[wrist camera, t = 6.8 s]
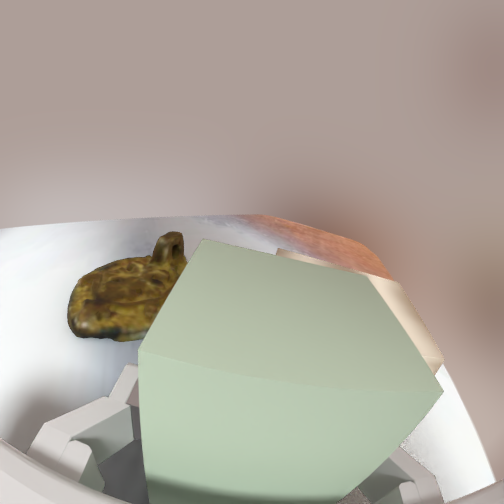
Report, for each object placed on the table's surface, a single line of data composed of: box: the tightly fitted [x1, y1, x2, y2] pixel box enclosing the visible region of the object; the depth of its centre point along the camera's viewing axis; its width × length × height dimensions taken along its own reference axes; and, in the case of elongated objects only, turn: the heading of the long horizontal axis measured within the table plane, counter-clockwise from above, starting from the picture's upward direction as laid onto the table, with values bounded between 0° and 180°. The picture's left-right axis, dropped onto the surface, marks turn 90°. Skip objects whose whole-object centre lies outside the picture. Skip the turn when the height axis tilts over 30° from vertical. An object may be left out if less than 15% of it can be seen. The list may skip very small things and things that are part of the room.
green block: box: [138, 239, 444, 504], centre depth 8 cm, size 5×5×10 cm
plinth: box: [276, 248, 445, 376], centre depth 21 cm, size 12×12×5 cm
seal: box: [67, 232, 188, 342], centre depth 22 cm, size 9×5×15 cm
